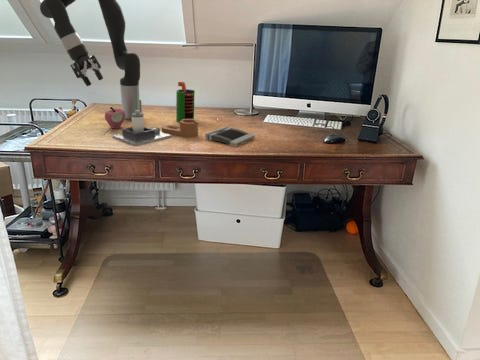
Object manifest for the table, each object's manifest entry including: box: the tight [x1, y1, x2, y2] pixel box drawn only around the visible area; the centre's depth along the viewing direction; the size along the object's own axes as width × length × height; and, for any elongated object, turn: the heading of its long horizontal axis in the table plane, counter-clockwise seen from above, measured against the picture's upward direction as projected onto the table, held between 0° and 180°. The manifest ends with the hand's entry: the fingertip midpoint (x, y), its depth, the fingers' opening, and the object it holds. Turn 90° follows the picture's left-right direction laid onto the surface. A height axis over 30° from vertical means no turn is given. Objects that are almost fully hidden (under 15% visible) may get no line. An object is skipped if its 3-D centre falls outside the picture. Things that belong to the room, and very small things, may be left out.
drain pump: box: [131, 110, 145, 133], centre depth 171 cm, size 5×5×12 cm
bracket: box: [161, 118, 199, 139], centre depth 182 cm, size 18×8×7 cm, turn 69°
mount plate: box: [112, 126, 173, 147], centre depth 174 cm, size 20×16×4 cm
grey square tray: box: [204, 125, 255, 147], centre depth 179 cm, size 17×5×16 cm
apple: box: [104, 106, 126, 129], centre depth 185 cm, size 10×9×10 cm
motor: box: [175, 81, 195, 123], centre depth 202 cm, size 10×9×20 cm
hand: (95, 82), depth 169 cm, fingers open, 8 cm apart
